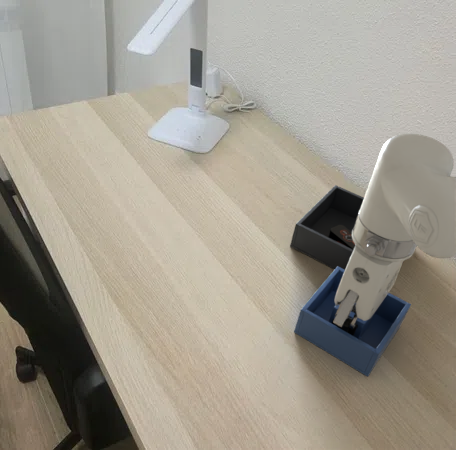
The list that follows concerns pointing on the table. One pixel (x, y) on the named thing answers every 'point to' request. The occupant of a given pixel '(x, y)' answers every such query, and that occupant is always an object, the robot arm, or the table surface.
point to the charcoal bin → (327, 227)
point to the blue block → (361, 324)
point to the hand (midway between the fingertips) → (348, 325)
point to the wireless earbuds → (342, 236)
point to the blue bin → (342, 341)
